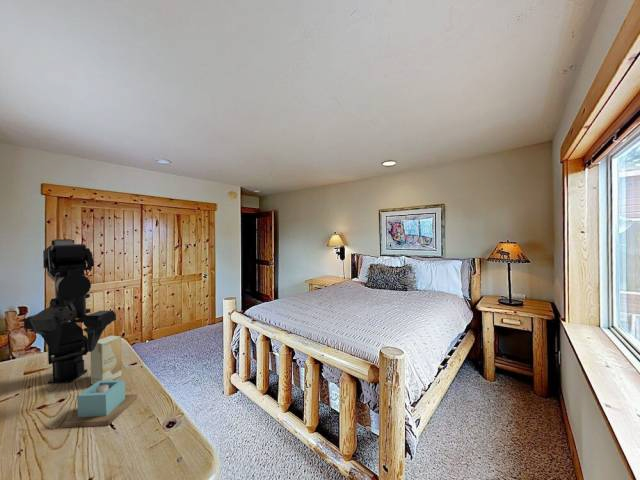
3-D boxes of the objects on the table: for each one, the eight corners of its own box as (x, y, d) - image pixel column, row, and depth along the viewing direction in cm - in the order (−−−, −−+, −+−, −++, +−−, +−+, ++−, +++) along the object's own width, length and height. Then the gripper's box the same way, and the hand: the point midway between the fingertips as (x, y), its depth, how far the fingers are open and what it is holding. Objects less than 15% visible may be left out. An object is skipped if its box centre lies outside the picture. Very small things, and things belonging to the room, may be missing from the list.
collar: (77, 417, 62) (77, 395, 62) (99, 399, 68) (98, 380, 68) (106, 415, 62) (105, 394, 62) (125, 398, 68) (124, 379, 68)
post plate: (63, 427, 60) (62, 401, 60) (98, 399, 70) (97, 377, 70) (108, 425, 60) (107, 399, 60) (137, 397, 70) (136, 375, 70)
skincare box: (102, 386, 76) (101, 344, 76) (90, 384, 77) (88, 343, 77) (123, 374, 82) (122, 335, 82) (111, 373, 83) (110, 334, 83)
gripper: (-4, 301, 60) (-1, 368, 61) (81, 299, 61) (84, 366, 62) (45, 290, 71) (47, 347, 72) (116, 289, 72) (118, 345, 73)
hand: (73, 351), depth 69 cm, fingers open, 9 cm apart
